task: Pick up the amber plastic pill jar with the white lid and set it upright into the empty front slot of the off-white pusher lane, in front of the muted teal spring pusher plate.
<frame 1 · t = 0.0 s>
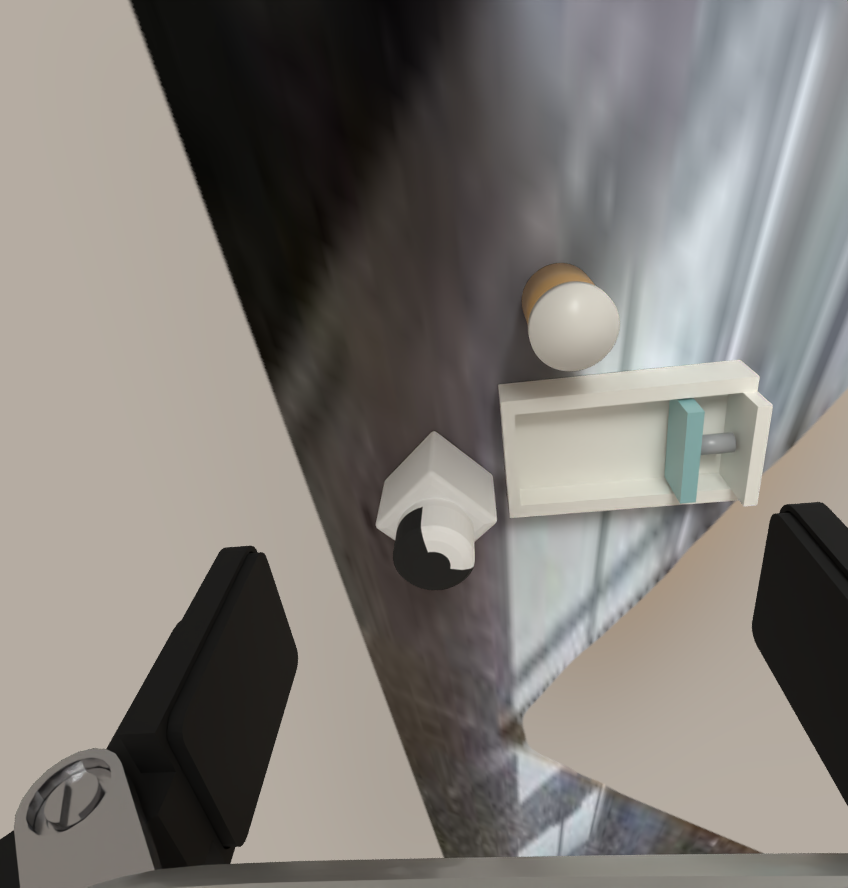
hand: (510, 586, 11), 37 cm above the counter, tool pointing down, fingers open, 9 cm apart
jar: (557, 299, 45), on the counter
medicine bottle: (438, 476, 54), on the counter
lane: (615, 432, 50), on the counter
pusher: (703, 444, 47), point 3 cm above the counter, slide at 0.0 cm
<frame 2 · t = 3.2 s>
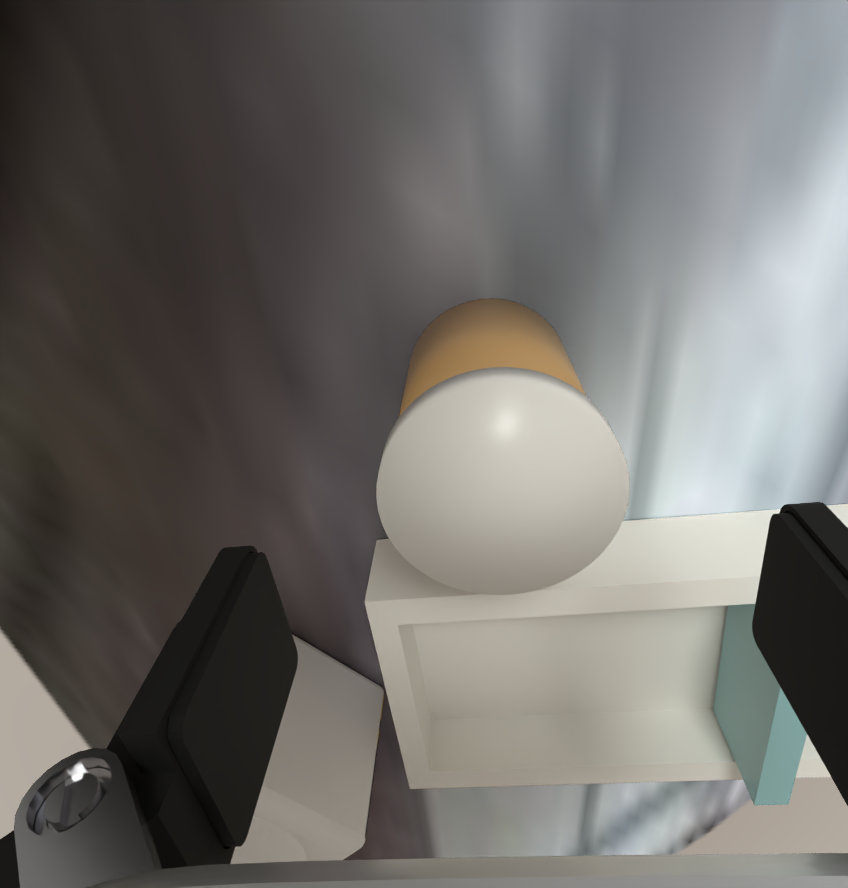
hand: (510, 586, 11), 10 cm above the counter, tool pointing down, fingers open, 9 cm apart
jar: (487, 377, 20), on the counter
medicine bottle: (286, 685, 29), on the counter
lane: (615, 625, 25), on the counter
pusher: (805, 683, 22), point 3 cm above the counter, slide at 0.0 cm
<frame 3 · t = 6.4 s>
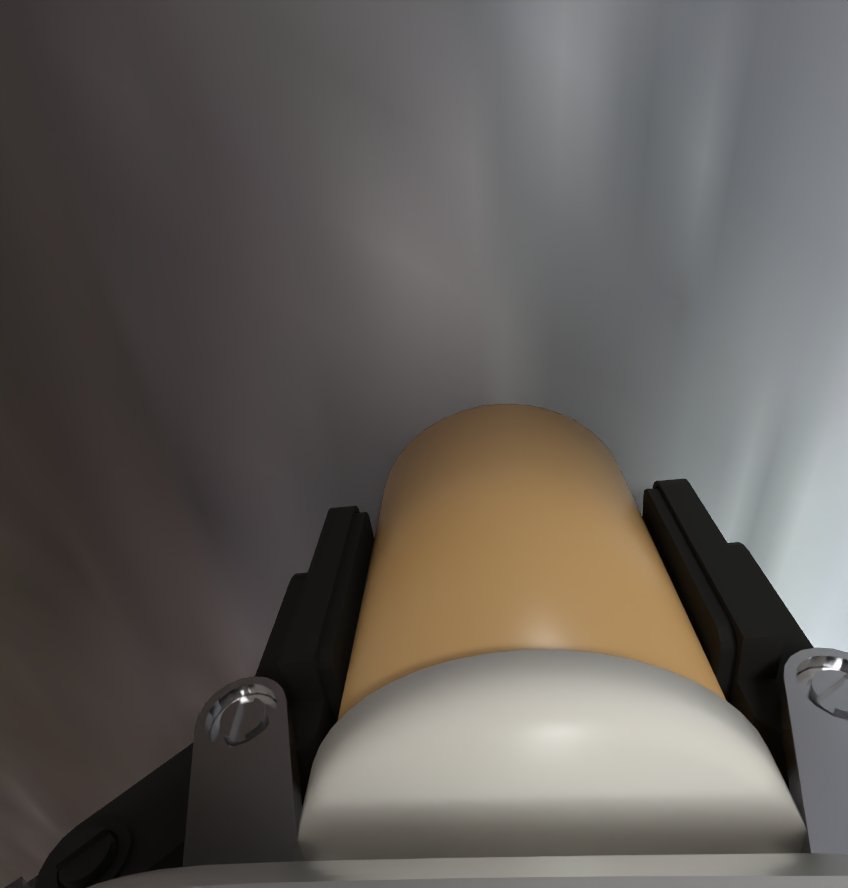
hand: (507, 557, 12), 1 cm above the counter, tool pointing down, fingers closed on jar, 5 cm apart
jar: (502, 513, 13), on the counter, touching gripper
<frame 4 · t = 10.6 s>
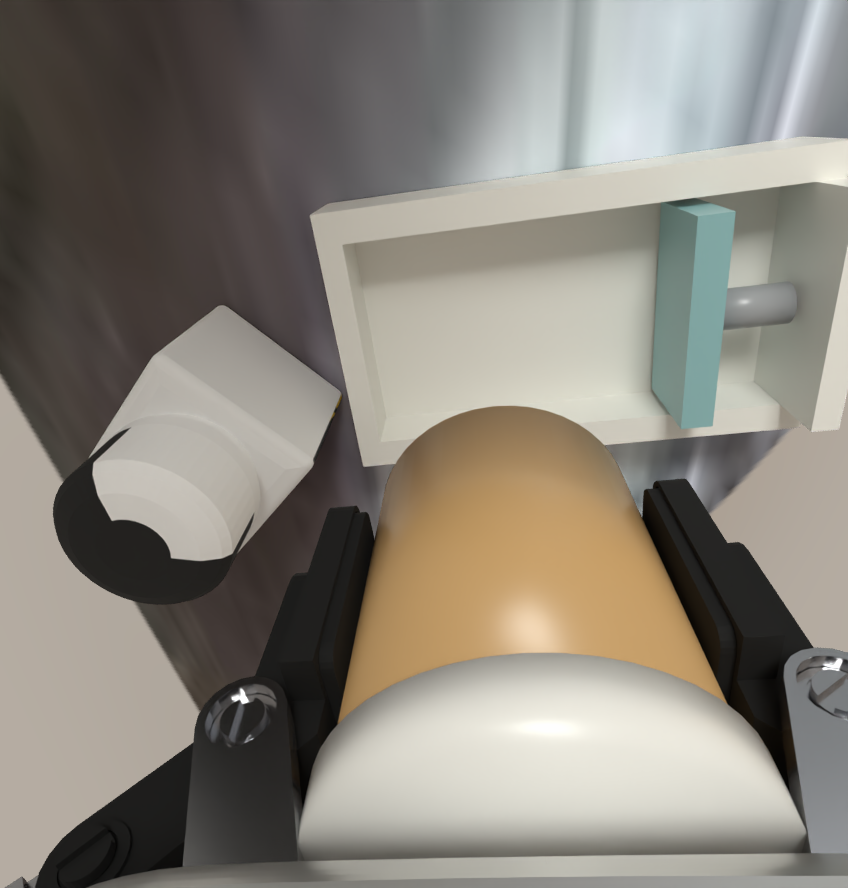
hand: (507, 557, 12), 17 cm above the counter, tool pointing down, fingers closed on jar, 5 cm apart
jar: (502, 515, 13), point 16 cm above the counter, touching gripper
medicine bottle: (249, 397, 30), on the counter
lane: (558, 304, 27), on the counter
pusher: (728, 309, 23), point 3 cm above the counter, slide at 0.0 cm
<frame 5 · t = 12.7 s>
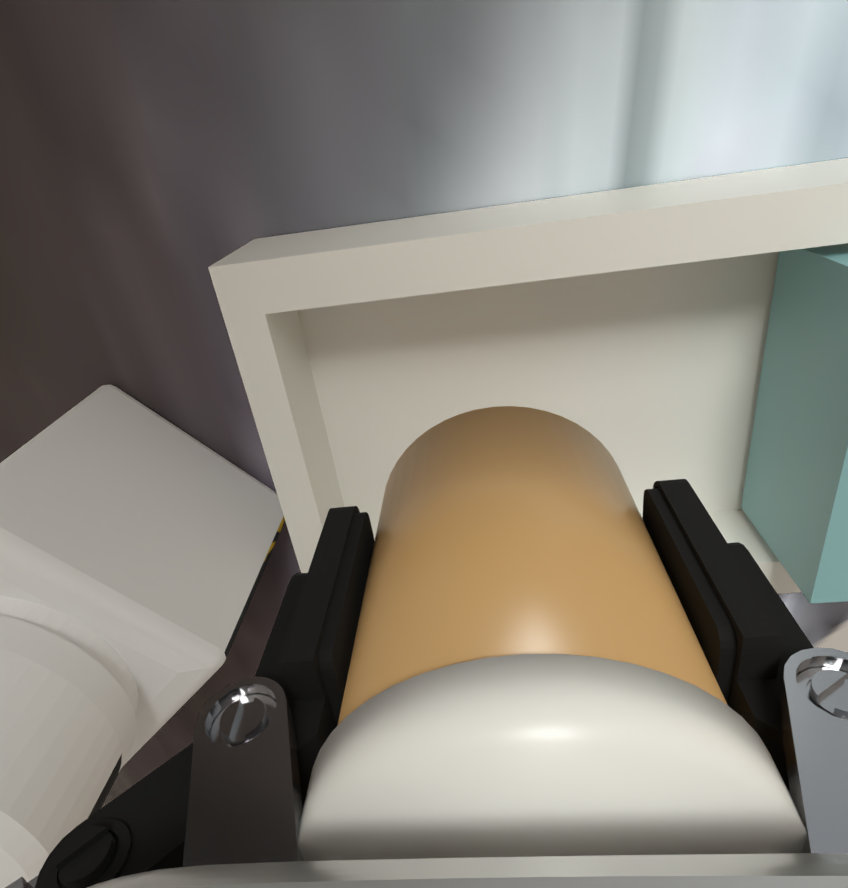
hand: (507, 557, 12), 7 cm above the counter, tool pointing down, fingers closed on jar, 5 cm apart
jar: (502, 515, 13), point 6 cm above the counter, touching gripper
medicine bottle: (160, 504, 21), on the counter
lane: (604, 385, 18), on the counter
when the fingers open (4 cm above the counter, at t = 14.8 s): jar drops 1 cm, resting on lane.
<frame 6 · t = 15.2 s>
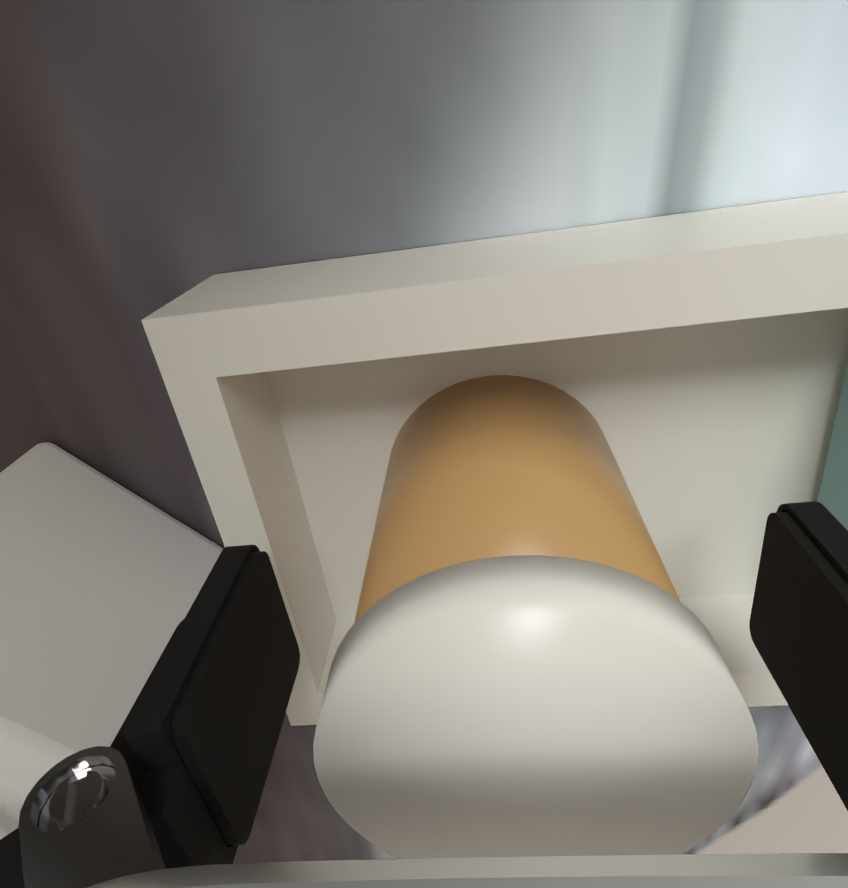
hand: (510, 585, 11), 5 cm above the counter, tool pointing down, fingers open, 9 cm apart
jar: (497, 477, 14), point 1 cm above the counter, touching lane
medicine bottle: (115, 573, 18), on the counter
lane: (634, 446, 15), on the counter
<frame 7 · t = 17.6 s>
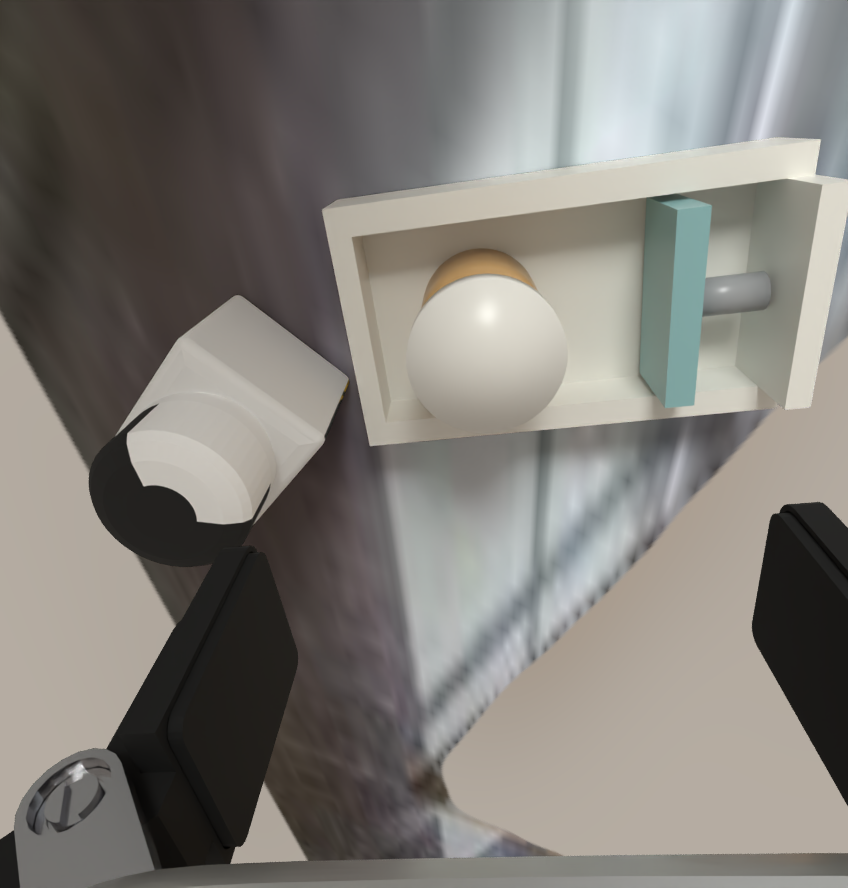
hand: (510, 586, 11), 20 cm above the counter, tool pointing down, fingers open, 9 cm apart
jar: (479, 307, 28), point 1 cm above the counter, touching lane
medicine bottle: (261, 382, 32), on the counter
lane: (552, 293, 29), on the counter
pusher: (708, 296, 25), point 3 cm above the counter, slide at 0.0 cm
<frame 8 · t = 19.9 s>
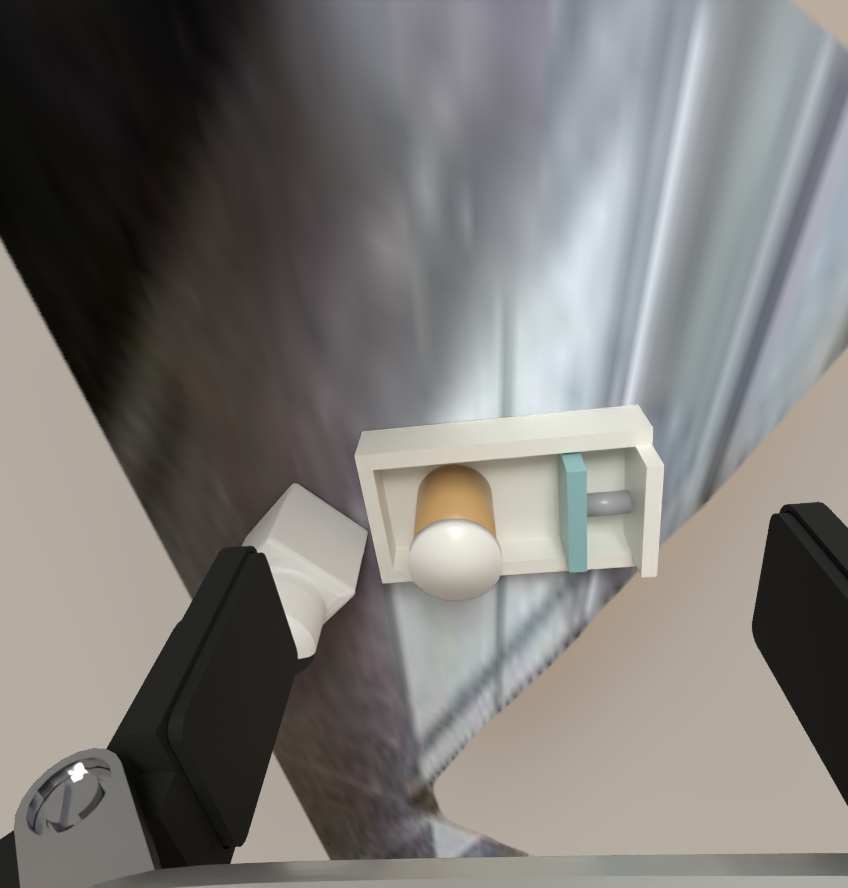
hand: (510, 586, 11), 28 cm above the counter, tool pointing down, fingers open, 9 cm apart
jar: (454, 496, 43), point 1 cm above the counter, touching lane
medicine bottle: (308, 532, 47), on the counter
lane: (502, 485, 43), on the counter
pusher: (595, 504, 40), point 3 cm above the counter, slide at 0.0 cm
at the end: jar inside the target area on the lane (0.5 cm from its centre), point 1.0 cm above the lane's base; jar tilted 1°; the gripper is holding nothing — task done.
